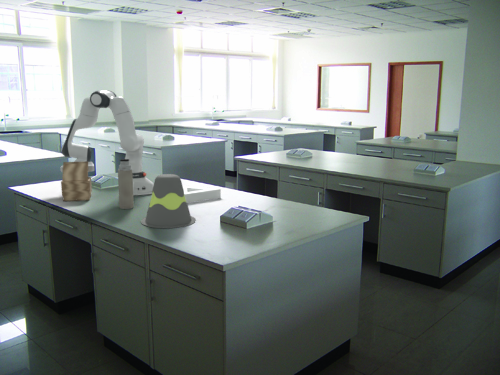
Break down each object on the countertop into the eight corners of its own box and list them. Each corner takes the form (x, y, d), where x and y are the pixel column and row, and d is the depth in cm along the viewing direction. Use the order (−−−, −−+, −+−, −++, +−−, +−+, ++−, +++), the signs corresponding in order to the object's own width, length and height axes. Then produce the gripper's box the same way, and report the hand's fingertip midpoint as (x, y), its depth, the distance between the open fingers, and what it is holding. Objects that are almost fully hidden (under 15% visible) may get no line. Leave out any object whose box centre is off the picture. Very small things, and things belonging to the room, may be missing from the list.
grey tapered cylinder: (160, 212, 246) (159, 169, 242) (205, 217, 236) (204, 173, 232) (129, 224, 221) (127, 177, 216) (178, 231, 211) (177, 182, 206)
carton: (92, 195, 285) (91, 176, 283) (90, 200, 272) (89, 181, 269) (65, 196, 281) (64, 177, 279) (62, 201, 267) (60, 181, 265)
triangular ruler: (179, 205, 264) (179, 195, 263) (158, 197, 284) (158, 188, 283) (220, 198, 283) (220, 189, 282) (198, 191, 303) (198, 182, 301)
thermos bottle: (122, 205, 260) (120, 158, 254) (135, 205, 259) (133, 158, 253) (117, 208, 252) (114, 160, 246) (130, 209, 251) (128, 160, 246)
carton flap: (88, 162, 277) (88, 161, 276) (87, 180, 269) (87, 179, 268) (63, 162, 273) (63, 161, 272) (62, 181, 265) (62, 180, 265)
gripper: (61, 162, 285) (58, 165, 272) (94, 161, 290) (93, 164, 277) (62, 172, 286) (58, 175, 273) (95, 171, 292) (93, 174, 279)
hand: (76, 170), depth 275 cm, fingers closed
